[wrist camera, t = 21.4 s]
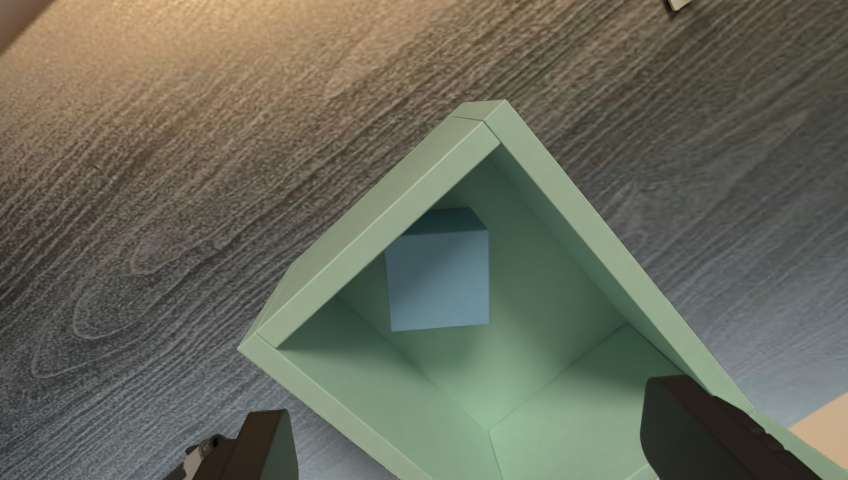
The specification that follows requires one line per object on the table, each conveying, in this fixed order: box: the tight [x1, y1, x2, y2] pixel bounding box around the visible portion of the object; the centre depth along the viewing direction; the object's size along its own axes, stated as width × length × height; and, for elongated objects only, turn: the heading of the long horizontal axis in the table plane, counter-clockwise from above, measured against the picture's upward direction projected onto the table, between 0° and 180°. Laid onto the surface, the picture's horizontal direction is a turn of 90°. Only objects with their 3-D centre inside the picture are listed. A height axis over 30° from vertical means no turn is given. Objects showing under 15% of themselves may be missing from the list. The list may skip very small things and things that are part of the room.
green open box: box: [237, 100, 754, 480], centre depth 22 cm, size 17×13×9 cm
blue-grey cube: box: [384, 207, 489, 332], centre depth 22 cm, size 5×5×5 cm
